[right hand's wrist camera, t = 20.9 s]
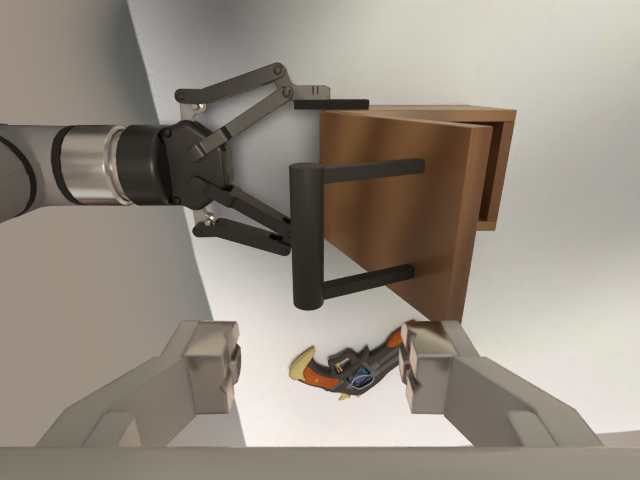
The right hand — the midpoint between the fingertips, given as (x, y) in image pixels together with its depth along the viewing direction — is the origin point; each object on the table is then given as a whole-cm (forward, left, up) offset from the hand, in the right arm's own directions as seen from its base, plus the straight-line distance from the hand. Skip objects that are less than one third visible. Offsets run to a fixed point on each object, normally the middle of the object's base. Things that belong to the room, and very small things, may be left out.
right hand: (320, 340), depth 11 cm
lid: (-3, -3, -16) cm, 16 cm away
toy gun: (-23, +15, -34) cm, 44 cm away
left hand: (-3, -3, -27) cm, 27 cm away
